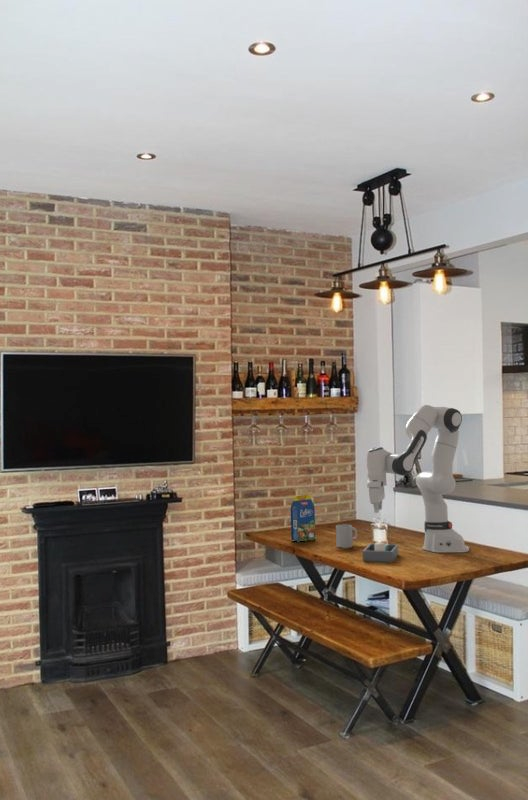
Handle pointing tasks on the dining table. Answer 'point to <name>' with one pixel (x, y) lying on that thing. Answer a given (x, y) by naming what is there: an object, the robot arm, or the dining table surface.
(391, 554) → the tote
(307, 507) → the blue food package
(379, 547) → the canister
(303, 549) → the dining table surface
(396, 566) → the dining table surface
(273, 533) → the dining table surface
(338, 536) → the mug
